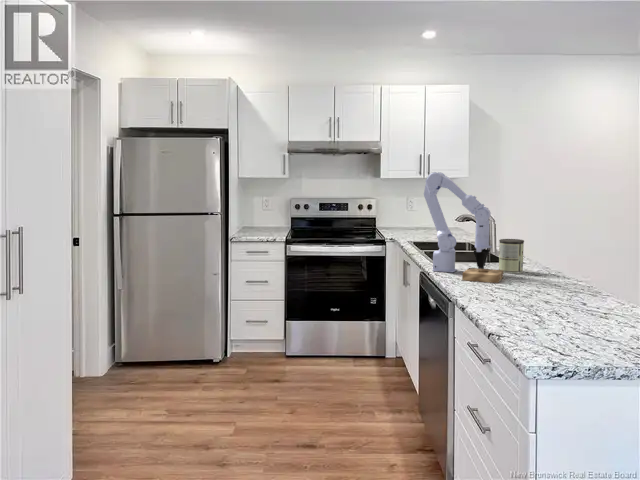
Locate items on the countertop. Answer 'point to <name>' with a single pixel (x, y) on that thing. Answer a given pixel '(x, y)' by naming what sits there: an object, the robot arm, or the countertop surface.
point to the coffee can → (511, 255)
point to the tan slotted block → (482, 275)
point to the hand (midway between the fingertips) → (481, 266)
